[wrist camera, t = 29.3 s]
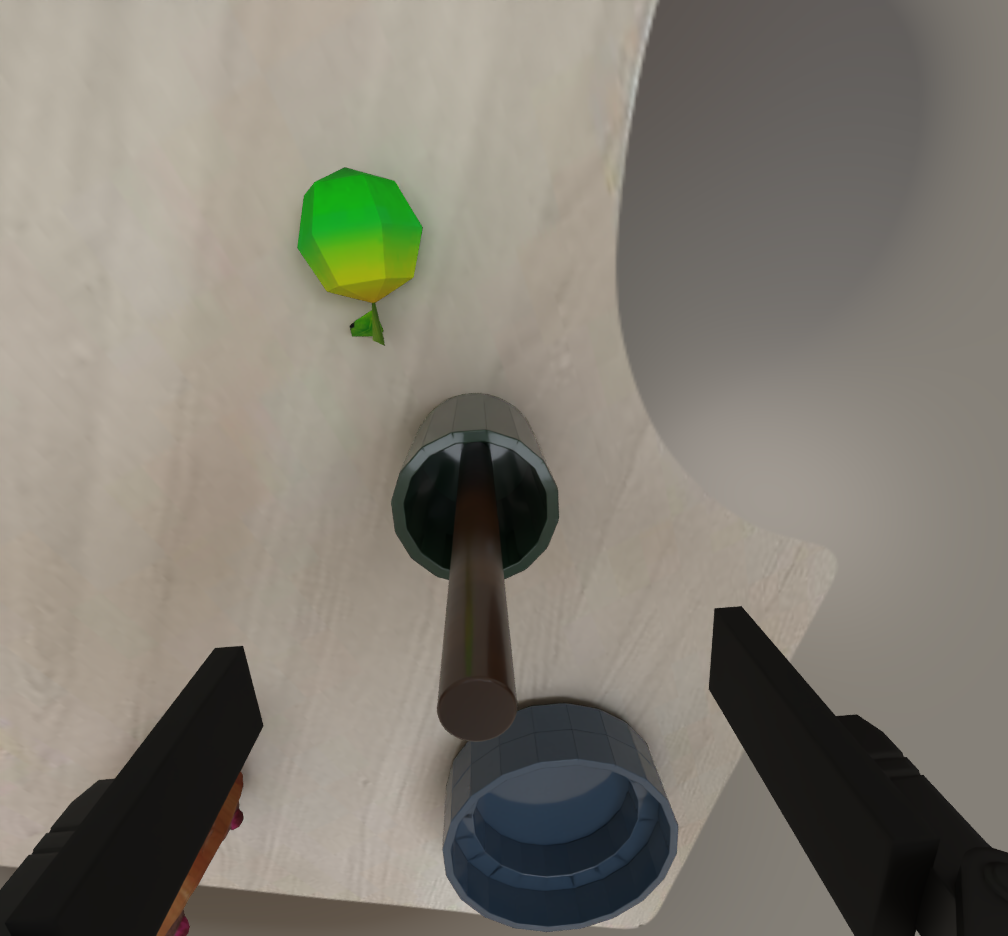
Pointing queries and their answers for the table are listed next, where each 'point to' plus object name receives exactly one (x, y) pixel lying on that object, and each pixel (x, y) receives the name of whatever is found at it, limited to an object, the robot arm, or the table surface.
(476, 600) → the stick
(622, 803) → the bowl
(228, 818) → the mug
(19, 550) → the table surface
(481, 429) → the holder
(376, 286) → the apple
